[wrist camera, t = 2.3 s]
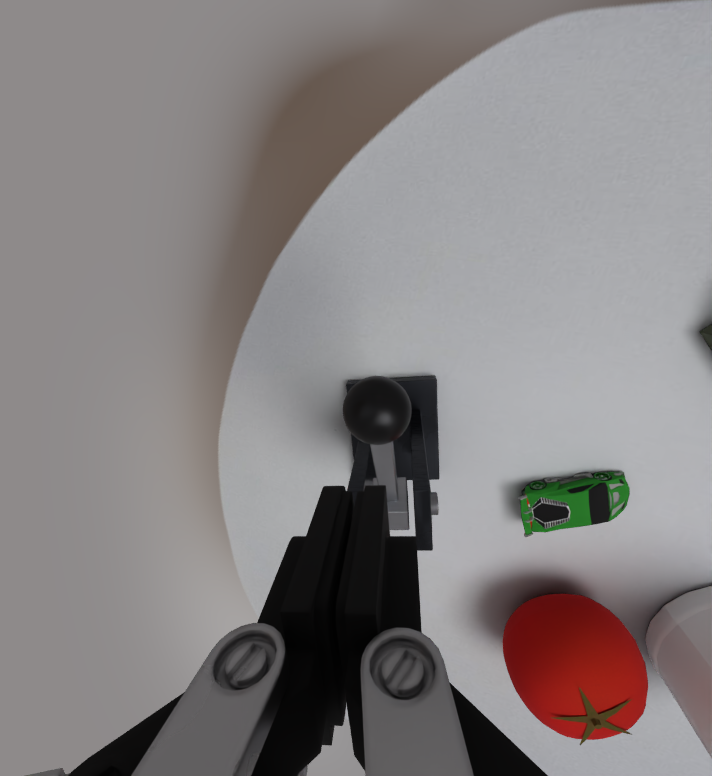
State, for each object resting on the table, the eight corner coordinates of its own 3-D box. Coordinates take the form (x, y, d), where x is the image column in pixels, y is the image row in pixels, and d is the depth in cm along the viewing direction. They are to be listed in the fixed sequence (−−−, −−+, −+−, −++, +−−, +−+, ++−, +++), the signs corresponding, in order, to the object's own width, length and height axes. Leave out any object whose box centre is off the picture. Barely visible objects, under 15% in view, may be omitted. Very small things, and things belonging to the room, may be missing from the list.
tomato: (517, 664, 44) (550, 779, 35) (477, 590, 42) (500, 693, 32) (625, 637, 42) (695, 755, 32) (590, 556, 39) (654, 658, 29)
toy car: (624, 465, 35) (639, 479, 33) (627, 508, 37) (641, 524, 35) (511, 483, 37) (518, 497, 35) (518, 523, 39) (525, 539, 36)
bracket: (347, 380, 36) (316, 450, 23) (435, 375, 35) (456, 446, 22) (357, 474, 39) (335, 584, 26) (438, 473, 38) (457, 586, 25)
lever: (340, 363, 18) (334, 418, 16) (409, 359, 18) (412, 415, 16) (369, 491, 28) (368, 536, 26) (414, 490, 27) (417, 536, 25)
